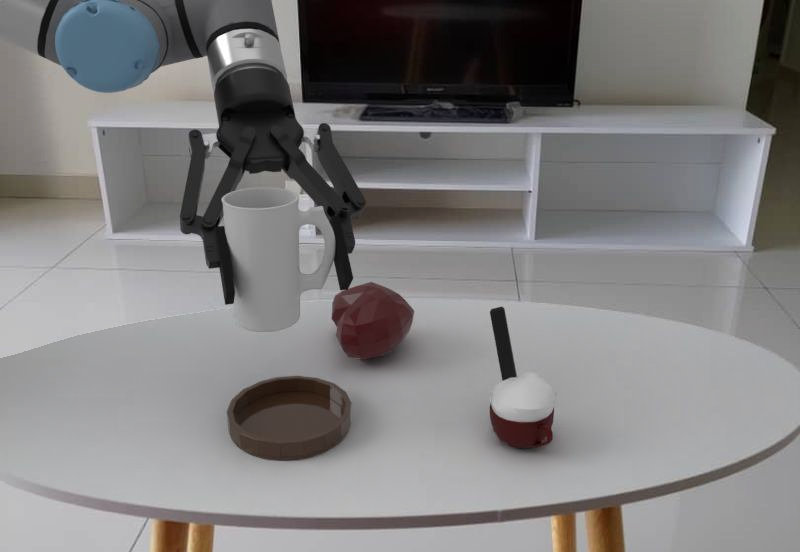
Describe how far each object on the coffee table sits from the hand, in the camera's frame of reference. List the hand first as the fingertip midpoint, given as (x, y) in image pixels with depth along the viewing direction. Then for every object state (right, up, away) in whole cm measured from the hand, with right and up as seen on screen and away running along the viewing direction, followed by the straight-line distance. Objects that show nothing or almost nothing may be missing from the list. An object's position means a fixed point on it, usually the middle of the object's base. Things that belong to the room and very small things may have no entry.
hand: (289, 291), depth 68 cm
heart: (+7, -7, +23) cm, 26 cm away
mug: (-1, -3, +4) cm, 5 cm away
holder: (-1, -13, +8) cm, 16 cm away
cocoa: (+22, -15, +7) cm, 27 cm away
